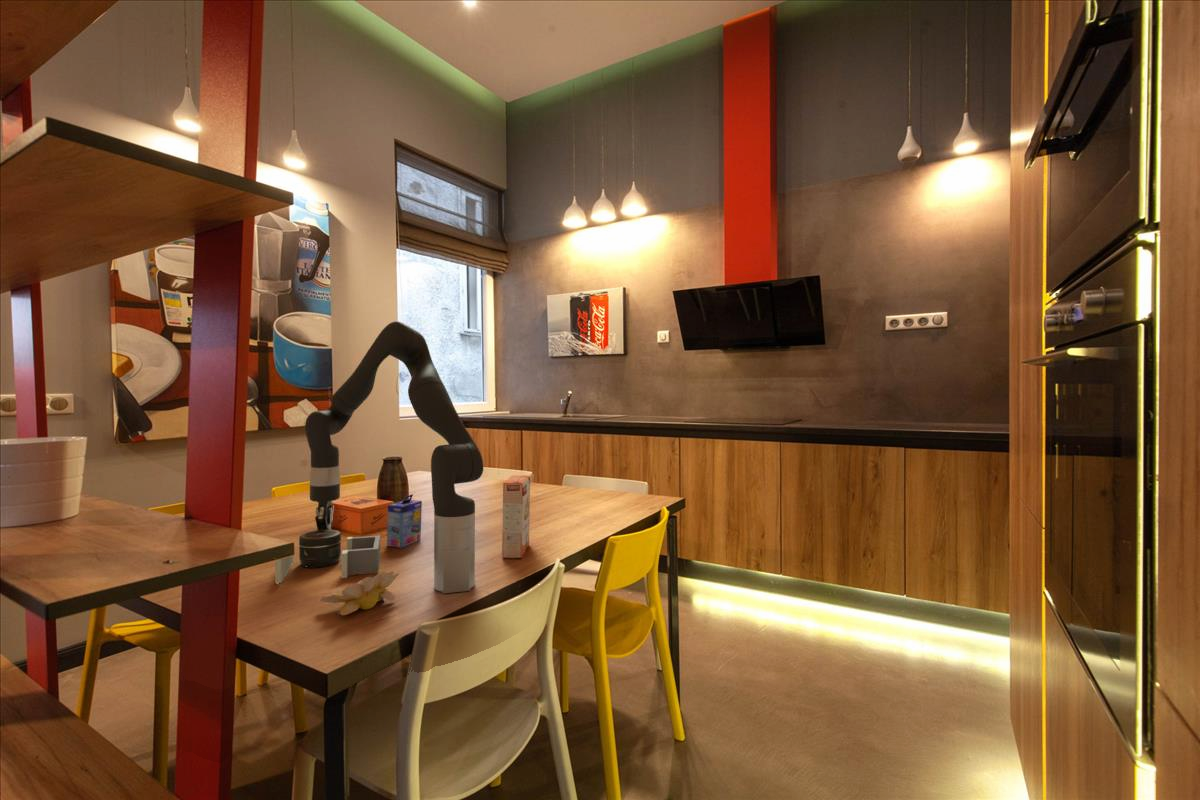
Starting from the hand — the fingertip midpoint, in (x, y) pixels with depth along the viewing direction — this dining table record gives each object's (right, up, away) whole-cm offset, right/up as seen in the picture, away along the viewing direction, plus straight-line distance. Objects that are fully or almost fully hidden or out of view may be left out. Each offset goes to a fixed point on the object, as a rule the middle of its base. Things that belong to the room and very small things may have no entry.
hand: (324, 544), depth 156 cm
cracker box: (+53, -3, +3) cm, 53 cm away
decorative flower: (+26, -4, -37) cm, 46 cm away
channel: (+8, -3, -13) cm, 16 cm away
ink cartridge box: (+18, -3, +12) cm, 22 cm away
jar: (+3, -3, -8) cm, 9 cm away
